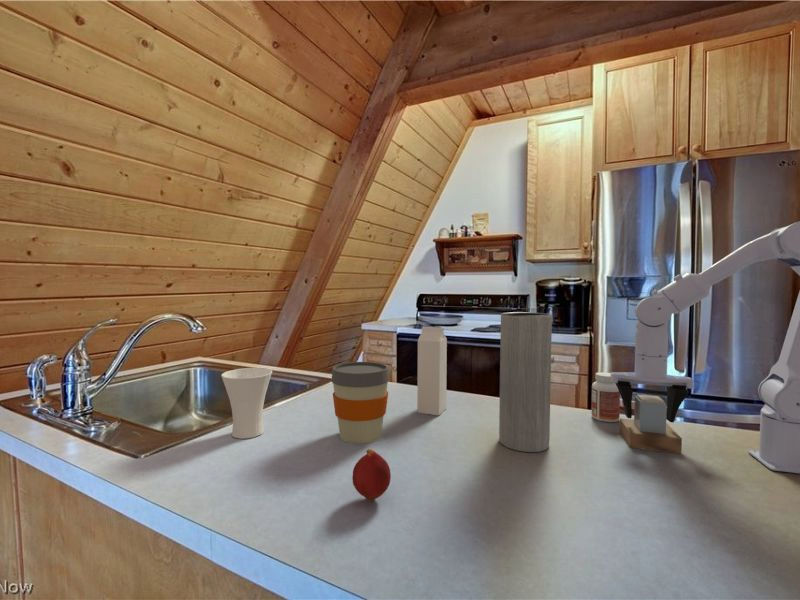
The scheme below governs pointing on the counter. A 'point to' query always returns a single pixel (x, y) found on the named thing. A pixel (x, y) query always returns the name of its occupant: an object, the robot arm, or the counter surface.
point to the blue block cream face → (650, 414)
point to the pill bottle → (605, 398)
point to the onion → (371, 475)
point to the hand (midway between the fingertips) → (649, 418)
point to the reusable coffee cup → (360, 399)
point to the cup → (247, 399)
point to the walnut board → (650, 438)
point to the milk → (432, 371)
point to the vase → (525, 381)
